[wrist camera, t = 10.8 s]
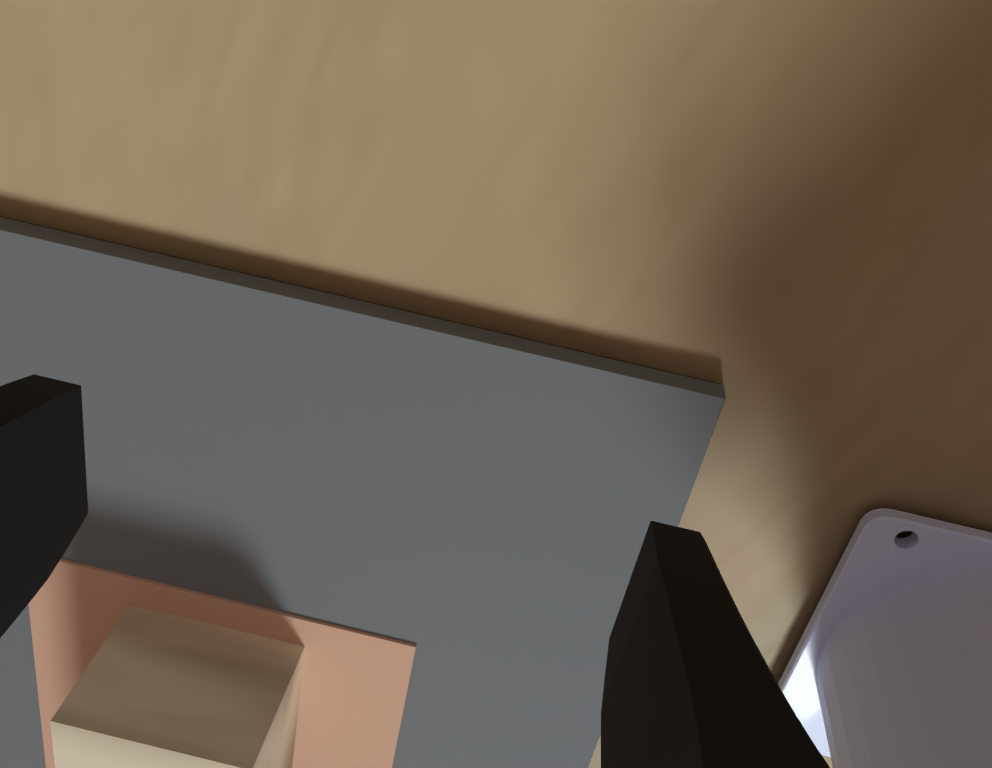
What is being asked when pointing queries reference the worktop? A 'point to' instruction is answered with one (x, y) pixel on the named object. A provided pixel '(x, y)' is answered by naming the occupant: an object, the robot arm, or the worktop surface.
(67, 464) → the robot arm
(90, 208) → the worktop surface
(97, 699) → the card box
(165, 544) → the mat
